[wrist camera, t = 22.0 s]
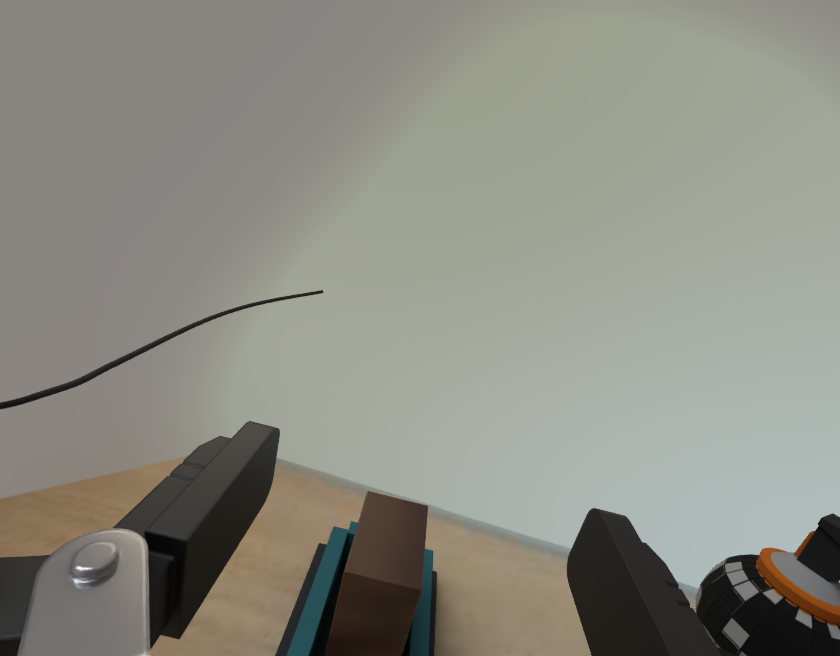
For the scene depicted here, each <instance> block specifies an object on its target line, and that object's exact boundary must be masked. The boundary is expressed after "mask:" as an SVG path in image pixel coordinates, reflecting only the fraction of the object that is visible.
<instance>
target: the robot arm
mask: <svg viewBox="0 0 840 656" xmlns="http://www.w3.org/2000/svg"><path fill="white" fill-rule="evenodd" d="M320 293H323V291H322V290H321V291H315V292H309V293H303V294H297V295H291V296H285V297H279V298H274V299H269V300H264V301H260V302H256V303H251V304H247V305H243V306H240V307H236V308H233V309H230V310H227V311H224V312H221V313H218V314H215V315H212V316H210V317H207V318H205V319H202V320H200V321H197V322H195V323H192V324H190V325H188V326H186V327H184V328H181V329H179V330H177V331H175V332H173V333H171V334H169V335H166V336H164V337H162V338H160V339H158V340H156V341H154V342H152V343H150V344H148V345H146V346H144V347H142V348H140V349H138V350H136V351H133V352H132V353H129V354H127V355H126V356H123V357H121V358H119V359H117V360H115V361H113V362H110V363H108V364H106V365H104V366H102V367H100V368H98V369H97V370H94V371H92V372H91V373H89V374H87V375H85V376H83V377H81V378H79V379H76V380H74V381H71V382H68V383H65V384H62V385H59V386H56V387H53V388H50V389H47V390H44V391H40V392H37V393H34V394H31V395H28V396H25V397H21V398H17V399H14V400H10V401H5V402H0V409H5V408H10V407H14V406H18V405H22V404H25V403H28V402H32V401H34V400H38V399H41V398H44V397H46V396H49V395H52V394H56V393H58V392H61V391H65V390H68V389H70V388H73V387H76V386H78V385H81V384H83V383H85V382H87V381H89V380H91V379H93V378H95V377H96V376H98V375H100V374H102V373H104V372H106V371H108V370H109V369H111V368H114V367H116V366H118V365H120V364H122V363H124V362H126V361H128V360H130V359H132V358H134V357H135V356H138V355H140V354H142V353H144V352H146V351H148V350H150V349H151V348H154V347H155V346H157V345H159V344H161V343H163V342H165V341H167V340H169V339H171V338H173V337H175V336H177V335H180V334H182V333H184V332H186V331H188V330H190V329H192V328H194V327H196V326H199V325H201V324H203V323H205V322H208V321H211V320H213V319H216V318H218V317H221V316H224V315H226V314H229V313H232V312H235V311H239V310H242V309H245V308H249V307H253V306H257V305H261V304H266V303H270V302H275V301H280V300H286V299H291V298H297V297H303V296H309V295H314V294H320ZM279 436H280V430H279V429H278V428H275V427H271V426H267V425H263V424H259V423H255V422H251V421H249V422H247V423H246V424H245V425H244V426H243V427H242V428H241V429H240V430H239V431H238V432H237V433H236V434H235V435H234V436H233V438H227V437H222V436H219V437H217V438H215V439H213V440H211V441H209V442H207V443H204V444H203V445H200V446H199V447H198V448H197V449H196V450H194V451H193V452H192V453H191V454H190V455H189V456H188V457H187V458H186V459H185V460H184V462H183V464H180V465H179V466H178V467H176V468H175V469H174V470H173V471H172V472H171V474H170V476H167V477H166V478H165V479H164V480H163V481H162V482H161V483H160V484H159V485H158V486H156V487H155V488H154V489H153V490H152V491H151V492H150V493H149V494H148V495H147V496H146V497H145V498H144V499H143V500H142V501H141V502H140V503H139V504H138V505H137V506H135V507H134V508H133V509H132V510H131V511H130V512H129V513H128V514H127V515H126V516H125V517H124V518H123V519H122V520H121V521H120V522H119V523H118V524H117V525H115V526H114V527H113V528H112V529H103V530H98V531H94V532H90V533H87V534H84V535H82V536H79V537H77V538H75V539H73V540H71V541H69V542H68V543H66V544H64V545H63V546H61V547H60V548H58V549H57V550H56V551H54V552H53V553H52V554H51V555H44V556H28V557H6V558H0V656H150V649H151V648H152V647H153V645H154V644H155V642H156V641H157V639H158V638H159V636H160V635H164V636H168V637H172V638H176V639H180V637H181V636H182V634H183V633H184V631H185V629H186V628H187V626H188V625H189V623H190V621H191V620H192V618H193V617H194V615H195V613H196V612H197V610H198V609H199V607H200V605H201V604H202V602H203V601H204V599H205V597H206V596H207V594H208V593H209V591H210V589H211V588H212V586H213V585H214V583H215V581H216V580H217V578H218V577H219V575H220V574H221V572H222V570H223V569H224V567H225V566H226V564H227V562H228V561H229V559H230V558H231V556H232V554H233V553H234V551H235V550H236V548H237V546H238V545H239V543H240V542H241V540H242V538H243V537H244V535H245V534H246V532H247V530H248V529H249V527H250V526H251V524H252V522H253V521H254V519H255V518H256V516H257V514H258V513H259V511H260V510H261V508H262V506H263V505H264V503H265V501H266V499H267V496H268V494H269V491H270V488H271V485H272V481H273V476H274V470H275V463H276V456H277V450H278V443H279ZM567 578H568V582H569V586H570V589H571V592H572V595H573V598H574V602H575V605H576V608H577V611H578V614H579V617H580V620H581V623H582V627H583V630H584V633H585V636H586V639H587V642H588V645H589V649H590V652H591V655H592V656H721V654H720V652H719V651H718V649H717V647H716V646H715V644H714V642H713V641H712V639H711V638H710V636H709V634H708V633H707V631H706V629H705V628H704V626H703V624H702V623H701V621H700V619H699V618H698V616H697V615H696V613H695V611H694V610H693V609H692V608H690V603H689V601H688V600H687V598H686V597H685V595H684V593H683V592H682V590H681V589H679V588H678V586H679V585H678V583H677V582H676V580H675V578H674V577H673V575H672V574H671V572H670V570H669V569H668V567H667V566H666V564H665V563H664V562H663V561H662V559H661V558H660V557H659V556H658V555H657V554H656V553H655V552H654V551H653V550H652V549H651V548H650V547H649V546H648V545H647V544H646V543H643V542H642V541H641V540H640V538H639V536H638V535H637V533H636V531H635V529H634V527H633V526H632V524H631V522H630V521H629V519H628V518H627V517H626V516H624V515H620V514H616V513H612V512H608V511H604V510H600V509H596V508H593V509H591V510H590V511H589V512H588V514H587V516H586V518H585V520H584V522H583V525H582V527H581V529H580V531H579V534H578V536H577V538H576V540H575V543H574V545H573V547H572V549H571V551H570V554H569V557H568V562H567Z"/></svg>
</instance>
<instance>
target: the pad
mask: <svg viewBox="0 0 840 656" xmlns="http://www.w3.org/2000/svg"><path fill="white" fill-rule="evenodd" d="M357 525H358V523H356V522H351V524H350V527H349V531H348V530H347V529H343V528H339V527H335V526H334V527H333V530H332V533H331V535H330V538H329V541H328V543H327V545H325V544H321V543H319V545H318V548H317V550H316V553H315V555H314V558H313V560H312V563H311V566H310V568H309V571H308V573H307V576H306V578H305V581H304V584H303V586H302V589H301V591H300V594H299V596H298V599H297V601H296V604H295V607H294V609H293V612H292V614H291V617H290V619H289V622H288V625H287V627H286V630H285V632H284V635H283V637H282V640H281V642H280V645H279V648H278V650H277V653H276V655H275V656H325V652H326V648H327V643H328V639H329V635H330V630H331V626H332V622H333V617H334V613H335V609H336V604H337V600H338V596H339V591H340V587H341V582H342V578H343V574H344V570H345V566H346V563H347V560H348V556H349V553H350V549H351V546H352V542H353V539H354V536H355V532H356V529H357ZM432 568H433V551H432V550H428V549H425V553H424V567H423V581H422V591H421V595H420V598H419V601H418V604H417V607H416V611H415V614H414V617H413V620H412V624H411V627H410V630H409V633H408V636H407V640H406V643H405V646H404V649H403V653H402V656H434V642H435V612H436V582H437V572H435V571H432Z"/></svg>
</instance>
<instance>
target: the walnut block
mask: <svg viewBox="0 0 840 656" xmlns="http://www.w3.org/2000/svg"><path fill="white" fill-rule="evenodd" d="M427 512H428V506H426V505H422V504H418V503H414V502H410V501H406V500H402V499H398V498H394V497H390V496H386V495H382V494H378V493H373V492H369V491H368V492H367V495H366V498H365V501H364V505H363V508H362V512H361V515H360V519H359V522H358V525H357V529H356V532H355V536H354V539H353V542H352V546H351V549H350V553H349V556H348V560H347V563H346V566H345V570H344V574H343V578H342V582H341V587H340V591H339V596H338V600H337V604H336V609H335V613H334V617H333V622H332V626H331V630H330V635H329V639H328V643H327V648H326V652H325V656H402V653H403V649H404V646H405V643H406V640H407V636H408V633H409V630H410V627H411V624H412V620H413V617H414V614H415V611H416V607H417V604H418V601H419V598H420V595H421V591H422V581H423V567H424V553H425V540H426V526H427Z"/></svg>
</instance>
